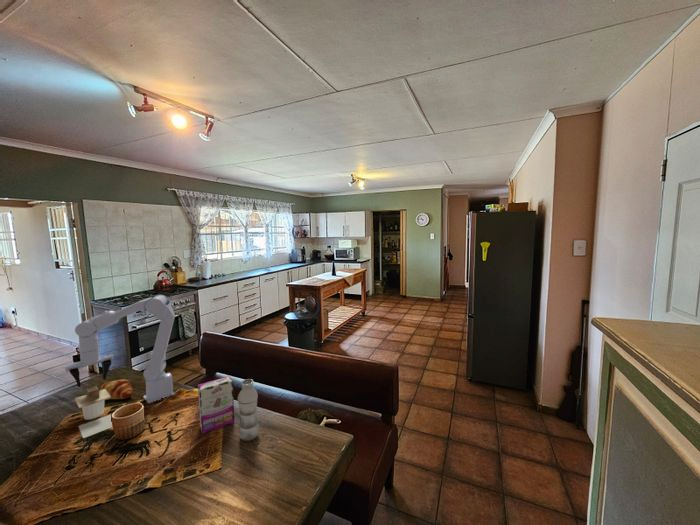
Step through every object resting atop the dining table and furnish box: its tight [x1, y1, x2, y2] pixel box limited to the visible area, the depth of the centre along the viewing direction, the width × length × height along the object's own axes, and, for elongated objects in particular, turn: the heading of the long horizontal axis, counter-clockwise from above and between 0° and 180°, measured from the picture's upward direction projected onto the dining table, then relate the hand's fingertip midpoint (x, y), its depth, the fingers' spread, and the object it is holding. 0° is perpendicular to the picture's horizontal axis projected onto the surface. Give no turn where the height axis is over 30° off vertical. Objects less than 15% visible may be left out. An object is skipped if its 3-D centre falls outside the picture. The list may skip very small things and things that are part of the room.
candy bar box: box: [197, 375, 235, 435], centre depth 104 cm, size 11×5×16 cm, turn 126°
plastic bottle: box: [237, 378, 260, 442], centre depth 98 cm, size 6×7×20 cm
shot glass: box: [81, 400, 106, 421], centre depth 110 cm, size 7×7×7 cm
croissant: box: [99, 379, 134, 400], centre depth 125 cm, size 21×10×8 cm, turn 67°
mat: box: [77, 413, 113, 439], centre depth 104 cm, size 10×10×1 cm
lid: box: [74, 384, 111, 409], centre depth 109 cm, size 9×9×4 cm
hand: (91, 382), depth 115 cm, fingers open, 7 cm apart
